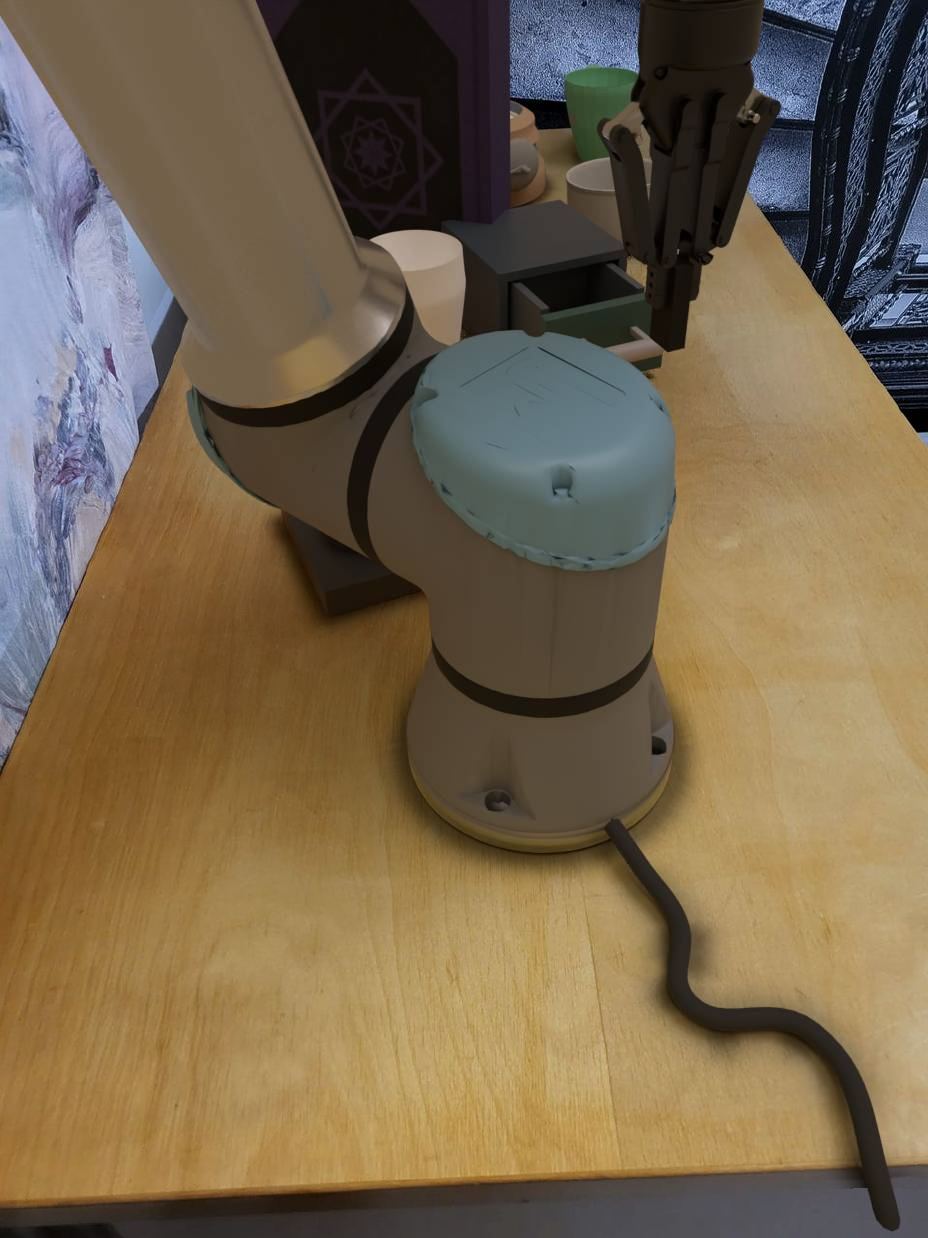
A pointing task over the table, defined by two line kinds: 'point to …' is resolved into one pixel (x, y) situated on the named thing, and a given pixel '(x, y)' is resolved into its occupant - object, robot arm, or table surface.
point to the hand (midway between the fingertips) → (666, 342)
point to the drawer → (588, 310)
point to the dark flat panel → (343, 571)
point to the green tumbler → (595, 104)
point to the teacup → (598, 193)
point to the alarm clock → (524, 157)
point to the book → (403, 105)
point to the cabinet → (524, 255)
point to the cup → (431, 278)
